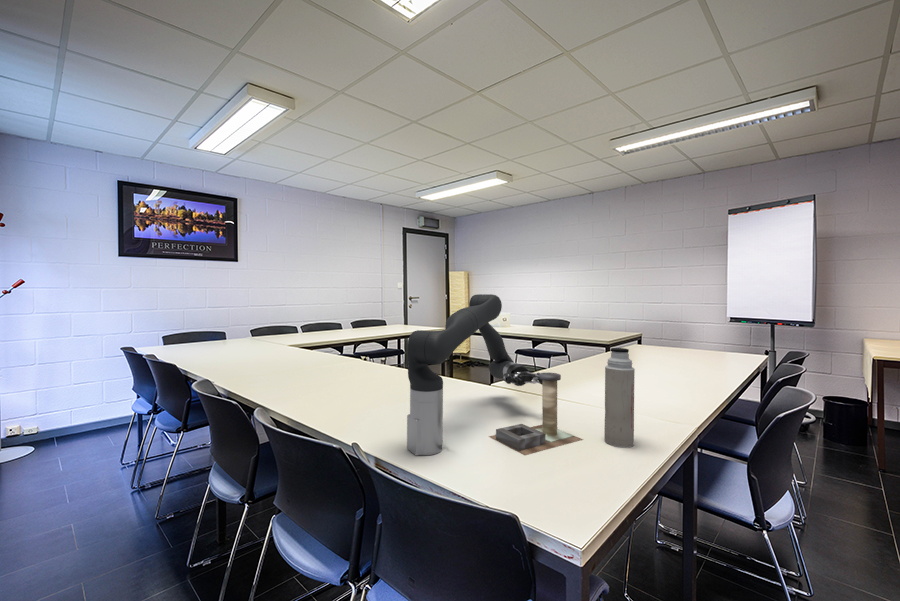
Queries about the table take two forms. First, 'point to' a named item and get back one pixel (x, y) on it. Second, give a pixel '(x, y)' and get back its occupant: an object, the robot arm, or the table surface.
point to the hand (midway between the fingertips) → (532, 382)
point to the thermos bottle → (619, 399)
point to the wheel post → (549, 402)
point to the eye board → (531, 438)
